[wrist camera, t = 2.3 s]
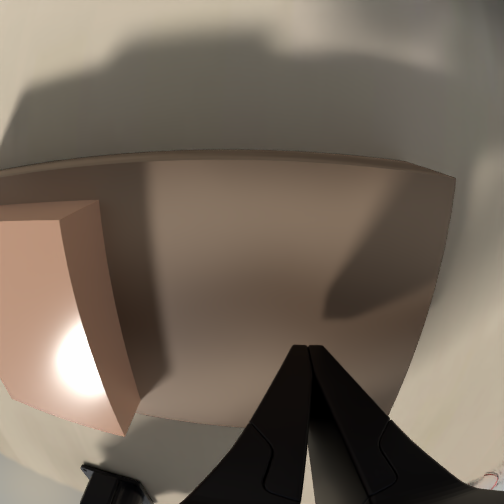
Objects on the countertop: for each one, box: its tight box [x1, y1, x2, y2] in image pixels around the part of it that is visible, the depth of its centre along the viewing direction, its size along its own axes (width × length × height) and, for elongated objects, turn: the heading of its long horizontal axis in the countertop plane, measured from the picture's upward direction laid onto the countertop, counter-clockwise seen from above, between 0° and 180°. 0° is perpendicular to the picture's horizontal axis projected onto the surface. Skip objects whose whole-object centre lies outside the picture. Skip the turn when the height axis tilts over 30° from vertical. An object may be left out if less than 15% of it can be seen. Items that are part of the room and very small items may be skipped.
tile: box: [0, 200, 141, 437], centre depth 9 cm, size 8×6×2 cm
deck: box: [0, 150, 456, 428], centre depth 12 cm, size 10×20×4 cm, turn 89°
